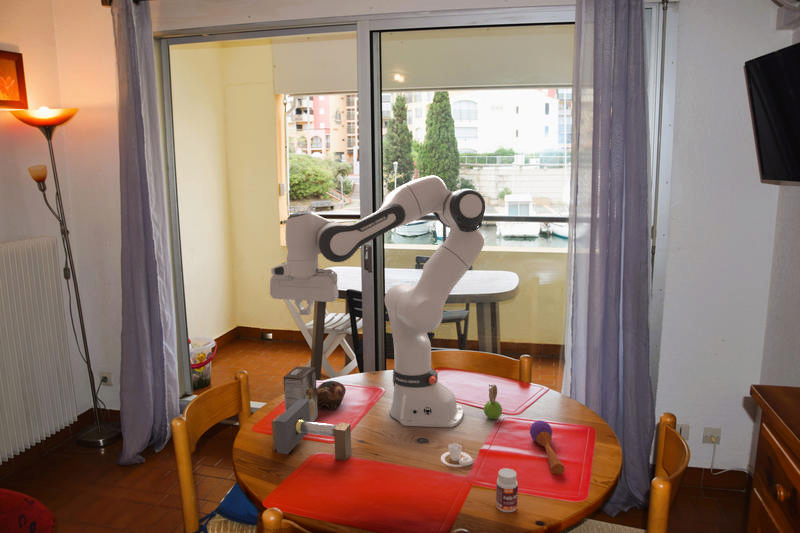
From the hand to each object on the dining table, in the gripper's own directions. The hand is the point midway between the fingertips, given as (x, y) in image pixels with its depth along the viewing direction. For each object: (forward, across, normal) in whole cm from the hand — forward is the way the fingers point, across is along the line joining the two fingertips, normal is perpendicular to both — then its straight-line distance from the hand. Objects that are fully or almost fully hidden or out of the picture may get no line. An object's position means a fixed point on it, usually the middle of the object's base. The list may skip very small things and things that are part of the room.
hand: (305, 314), depth 170 cm
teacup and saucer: (+33, -47, +15) cm, 59 cm away
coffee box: (+33, +1, +3) cm, 33 cm away
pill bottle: (+33, -62, +30) cm, 76 cm away
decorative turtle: (+33, -2, -10) cm, 35 cm away
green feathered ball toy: (+33, -53, -13) cm, 64 cm away
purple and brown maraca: (+33, -70, +4) cm, 77 cm away
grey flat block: (+30, -4, +18) cm, 35 cm away
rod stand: (+33, -9, +18) cm, 38 cm away
